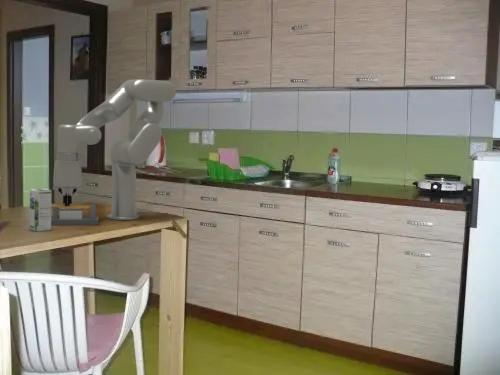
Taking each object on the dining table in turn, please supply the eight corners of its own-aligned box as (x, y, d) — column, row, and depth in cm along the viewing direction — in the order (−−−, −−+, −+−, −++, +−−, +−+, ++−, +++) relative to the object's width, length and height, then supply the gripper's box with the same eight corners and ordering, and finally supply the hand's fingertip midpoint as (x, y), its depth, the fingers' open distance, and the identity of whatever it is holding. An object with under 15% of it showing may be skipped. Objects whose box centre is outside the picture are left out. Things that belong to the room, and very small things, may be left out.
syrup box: (28, 229, 190) (28, 188, 189) (45, 227, 194) (45, 187, 193) (35, 231, 186) (35, 190, 185) (52, 230, 190) (52, 189, 189)
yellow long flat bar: (94, 208, 208) (94, 205, 208) (94, 209, 205) (94, 206, 205) (52, 207, 204) (52, 204, 204) (51, 208, 201) (51, 205, 201)
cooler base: (98, 220, 213) (98, 202, 212) (98, 225, 203) (98, 206, 202) (50, 220, 208) (50, 202, 207) (47, 225, 198) (47, 206, 197)
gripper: (88, 157, 207) (88, 204, 209) (47, 156, 203) (47, 204, 205) (88, 158, 200) (87, 207, 202) (45, 157, 196) (45, 207, 198)
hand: (67, 205), depth 204 cm, fingers closed
